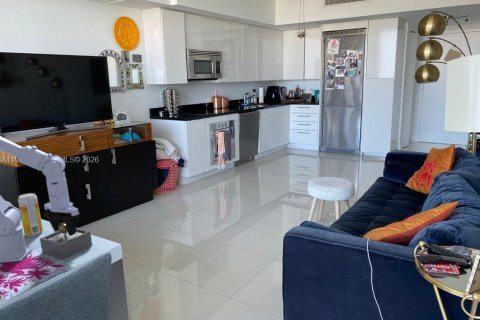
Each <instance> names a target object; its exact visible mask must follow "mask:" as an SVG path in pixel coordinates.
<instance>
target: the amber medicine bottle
mask: <svg viewBox="0 0 480 320" xmlns="http://www.w3.org/2000/svg"><path fill="white" fill-rule="evenodd" d="M17 202H18V209H19V210H20V211H21V213H22V219H21V223H22V230H23V235H25V236H26V237H35V236H39V235H40V234H41V233H42V232H43V230H44V229H43V223H42V217H41V212H40V207H39V201H38V196H37V195H36V193H33V192H30V193H25V194H24V193H23V194H20V195H18V198H17Z"/></svg>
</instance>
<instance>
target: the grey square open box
mask: <svg viewBox="0 0 480 320" xmlns="http://www.w3.org/2000/svg"><path fill="white" fill-rule="evenodd" d="M76 232H78V233H82V234H81V235H79V236H77V237H74V238H72V239H70V240H68V241H66V242H64V243H59V242H55V241H52V240H48V239H49V238H51V237H53V236H56V235H58V234H60V232H59V230H58V231H56V232H55V231H53V232H52V233H50V234H47V235H45V236H43V237H40V238H39V243H40V246H41V247H40V248H41V252H42V253H43V254H45V255H46V254H47V255H49V256H51V257H52V256H53V257H54V258H55V257H56V258H58V259H62V260H66V259H67V258H69V257H71V256H73V255H74V254H77V253H79V252H81V251H83V250H85V249H87V248H89V247H91V246H92V245H93V241H92V234H91V231H90V230H87V229H82V228H78V227H76Z"/></svg>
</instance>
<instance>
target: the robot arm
mask: <svg viewBox="0 0 480 320" xmlns="http://www.w3.org/2000/svg"><path fill="white" fill-rule="evenodd" d="M0 151H1V152H4V153H7V154H9V155H11V156H15V157H16V158H17V160H18V162H19V163H21V164H23V165H25V166H28V167H30V168H33V169H35V170H37V171H40V172H41V171H42V174H43V175H44V176H45V179H46V187H47V193H48V199H49V202H47V203H44V210H45V212H44V213H43V216H45V218H47V220H48V222H49V223H50V225H51V227H52V229H53V232H56V231H59V226H58V225H59V224H62V221H63V223H65V225H66V227H67V231H68V234H69V235H70V236H71V235H73V234H76V228H78V227H77V225H78V221H79V219H80V217H81V212H79V208H77V207H75V206H73V205H74V203H73V202H72V201H71V202H70V196H69V189H68V184H67V183H68V182H67V178H66V173H65V168H66V162H65V160H64V159H63V158H62V157H60V155H53V154H52V153H50V152H49V153H46V152H44V151H42V150H40V149H38V147H37V146H35V145H32V146H31V145H26V146H21V145H19V144H17V143H15V142H14V141H11V140H9V139H8V138H5V137H3V136H1V135H0ZM63 213H64V214H65V215H64V216H62V214H63ZM21 222H22V213H21V211H20V208H17V207H15V206H14V205H13V204H12V202H10V201H7V200H5V199H4V198H3V197H2V196H1V194H0V264H1V263H12V262H14V263H15V262H21V261H23V259H25V257H26V256H27V255H29V253H31V252H32V251H33V248H32V247H31V248H27V247H26V245H27V244H26V241H25V237H24V235H25V234H24V229H23V225H21Z"/></svg>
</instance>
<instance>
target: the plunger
mask: <svg viewBox="0 0 480 320" xmlns="http://www.w3.org/2000/svg"><path fill="white" fill-rule="evenodd" d="M58 226H59V230H58V231H59V232H60V234H58V235H56V236H53V237H51V238H49V239H48V240H52V241H55V242H59V243H64V242H66V241H68V240H70V239H72V238H74V237H77V236H79V235H81V234H82V233H78V232H76V234H73V235H71V236H70V235H69V234H68V231H67V227H66V225H65V223H64V222H61V224H59V225H58Z"/></svg>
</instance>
